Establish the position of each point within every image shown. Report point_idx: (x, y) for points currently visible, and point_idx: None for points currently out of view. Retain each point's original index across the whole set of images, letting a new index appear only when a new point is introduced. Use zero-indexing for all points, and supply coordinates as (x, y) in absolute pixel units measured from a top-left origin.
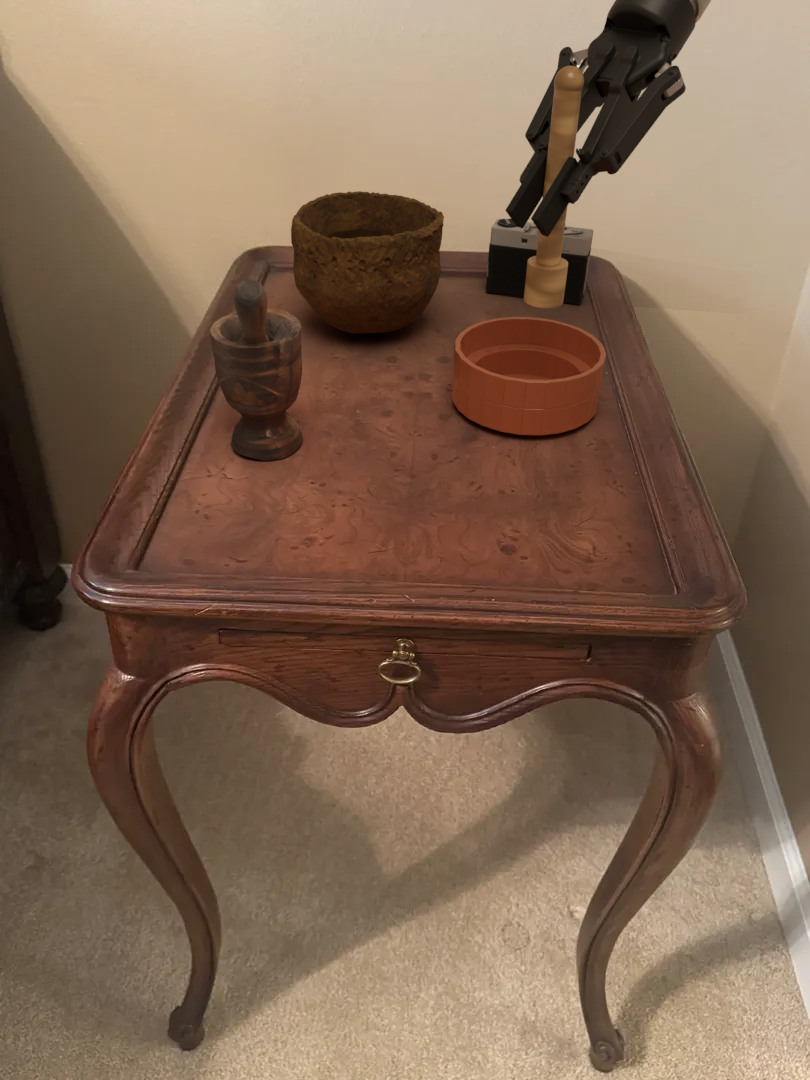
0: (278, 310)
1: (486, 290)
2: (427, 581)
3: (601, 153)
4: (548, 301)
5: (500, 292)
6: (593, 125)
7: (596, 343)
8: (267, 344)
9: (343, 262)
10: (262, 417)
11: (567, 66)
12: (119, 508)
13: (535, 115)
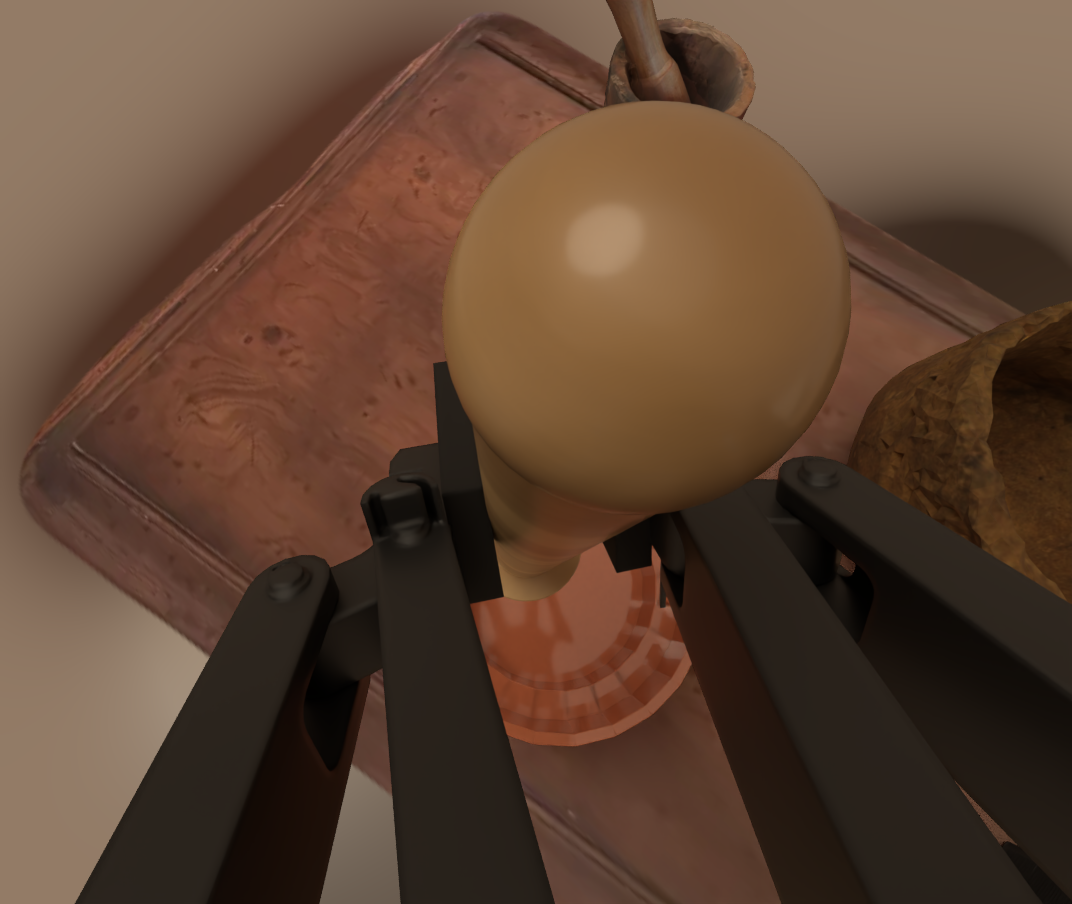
0: None
1: (1011, 844)
2: (286, 233)
3: (307, 567)
4: None
5: None
6: (481, 659)
7: (507, 722)
8: (617, 60)
9: (951, 357)
10: None
11: (704, 134)
12: (584, 61)
13: (946, 534)
